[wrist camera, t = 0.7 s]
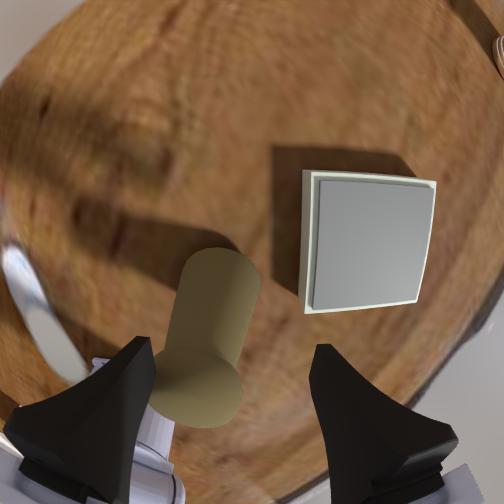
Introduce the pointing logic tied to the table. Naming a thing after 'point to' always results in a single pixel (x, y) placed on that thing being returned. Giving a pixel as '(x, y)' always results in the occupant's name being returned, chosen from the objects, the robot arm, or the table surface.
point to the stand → (362, 239)
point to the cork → (206, 339)
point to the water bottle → (499, 53)
